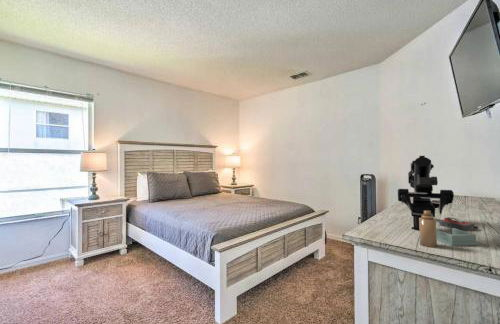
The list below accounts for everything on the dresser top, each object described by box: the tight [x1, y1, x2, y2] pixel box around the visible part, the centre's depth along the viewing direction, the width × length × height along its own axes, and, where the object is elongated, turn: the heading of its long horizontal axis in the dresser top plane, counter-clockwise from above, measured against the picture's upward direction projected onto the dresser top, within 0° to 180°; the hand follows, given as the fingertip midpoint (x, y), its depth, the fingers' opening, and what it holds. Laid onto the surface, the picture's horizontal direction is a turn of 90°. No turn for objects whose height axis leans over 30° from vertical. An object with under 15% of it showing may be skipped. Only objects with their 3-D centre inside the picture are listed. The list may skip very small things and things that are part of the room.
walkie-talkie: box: [434, 216, 479, 232], centre depth 118 cm, size 9×4×20 cm
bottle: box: [419, 210, 438, 248], centre depth 92 cm, size 5×5×13 cm
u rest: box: [436, 228, 480, 247], centre depth 96 cm, size 10×10×4 cm
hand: (426, 212), depth 96 cm, fingers open, 9 cm apart
